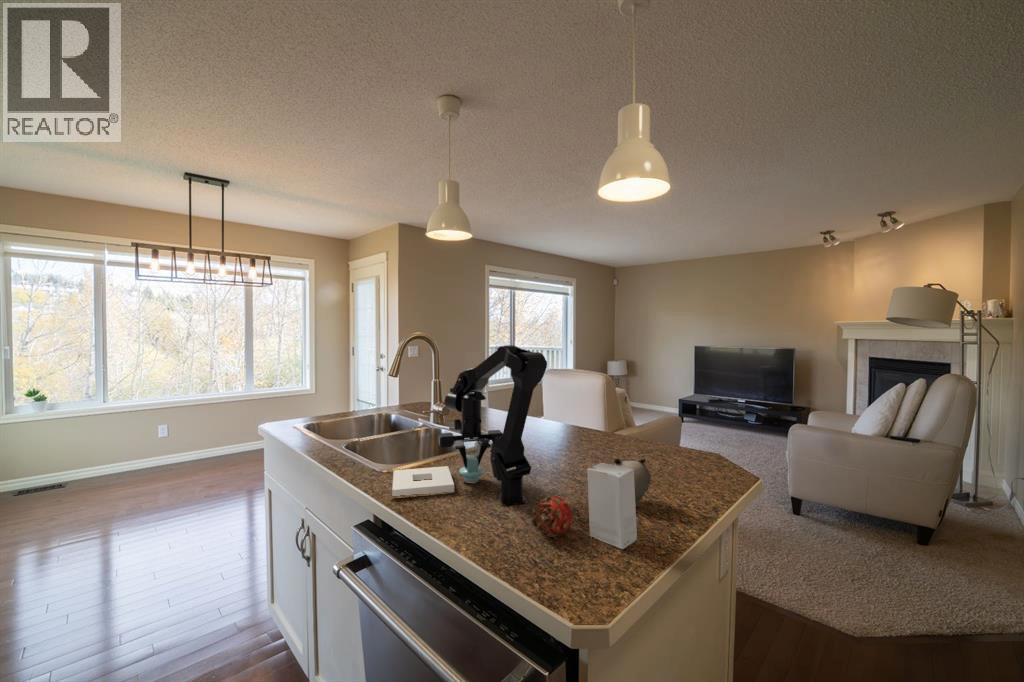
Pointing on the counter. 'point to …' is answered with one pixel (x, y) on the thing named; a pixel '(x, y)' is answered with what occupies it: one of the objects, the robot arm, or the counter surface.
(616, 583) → the counter surface
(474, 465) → the cap
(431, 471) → the white slab
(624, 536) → the skincare box
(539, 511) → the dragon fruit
